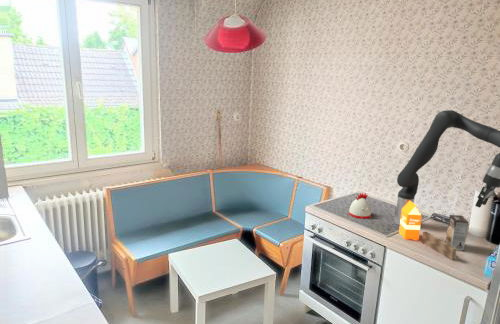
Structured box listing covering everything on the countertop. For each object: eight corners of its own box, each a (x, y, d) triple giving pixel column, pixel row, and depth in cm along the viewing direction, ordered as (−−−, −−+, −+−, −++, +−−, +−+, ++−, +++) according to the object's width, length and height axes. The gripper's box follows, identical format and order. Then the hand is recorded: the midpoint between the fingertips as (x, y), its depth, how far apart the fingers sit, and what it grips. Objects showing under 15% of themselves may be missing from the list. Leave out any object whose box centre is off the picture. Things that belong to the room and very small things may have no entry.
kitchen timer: (375, 217, 220) (377, 195, 216) (356, 219, 216) (358, 197, 213) (362, 210, 233) (364, 189, 229) (344, 211, 229) (346, 190, 226)
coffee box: (444, 241, 188) (449, 214, 184) (457, 242, 187) (462, 215, 183) (450, 249, 179) (455, 220, 176) (464, 250, 178) (469, 222, 174)
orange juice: (412, 233, 198) (416, 200, 194) (418, 239, 190) (423, 206, 185) (398, 232, 199) (402, 199, 194) (404, 239, 190) (408, 205, 185)
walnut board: (421, 242, 187) (423, 231, 186) (424, 241, 188) (426, 231, 186) (451, 260, 168) (453, 249, 167) (454, 259, 169) (456, 248, 167)
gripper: (490, 171, 170) (476, 200, 175) (482, 173, 160) (467, 203, 165) (507, 177, 165) (492, 207, 170) (500, 180, 155) (484, 211, 160)
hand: (480, 205), depth 168 cm, fingers open, 8 cm apart
